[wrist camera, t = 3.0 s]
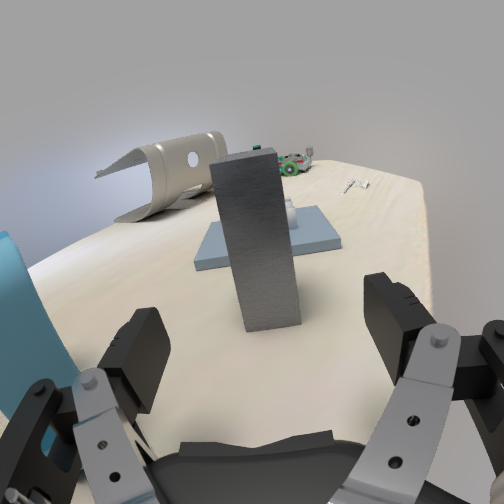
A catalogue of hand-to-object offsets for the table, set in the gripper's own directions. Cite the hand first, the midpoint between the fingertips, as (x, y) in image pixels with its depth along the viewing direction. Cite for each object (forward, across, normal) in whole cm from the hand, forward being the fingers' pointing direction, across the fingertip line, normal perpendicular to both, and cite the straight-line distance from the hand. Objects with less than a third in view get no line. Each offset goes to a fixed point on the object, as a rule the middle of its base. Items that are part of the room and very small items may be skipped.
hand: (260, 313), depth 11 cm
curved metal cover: (+61, +23, +7) cm, 66 cm away
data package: (0, +14, +7) cm, 16 cm away
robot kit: (+82, -3, +7) cm, 83 cm away
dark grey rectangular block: (+11, 0, +7) cm, 13 cm away
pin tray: (+27, 0, +7) cm, 28 cm away
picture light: (+48, -19, +8) cm, 52 cm away
